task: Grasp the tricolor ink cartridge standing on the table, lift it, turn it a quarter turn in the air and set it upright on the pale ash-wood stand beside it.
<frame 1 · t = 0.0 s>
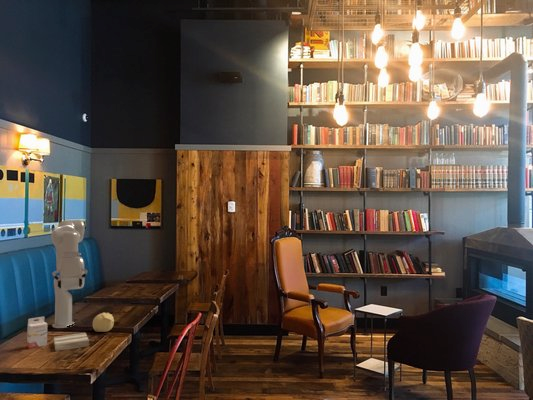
hand: (70, 287, 224), 31 cm above the table, tool pointing down, fingers open, 9 cm apart
stand: (71, 344, 226), on the table
ink cartridge box: (37, 346, 224), on the table
sculpture: (103, 331, 251), on the table
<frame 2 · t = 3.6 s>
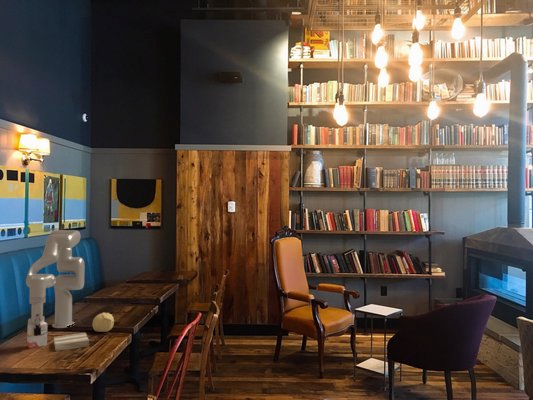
hand: (37, 333, 224), 7 cm above the table, tool pointing down, fingers closed on ink cartridge box, 5 cm apart
ink cartridge box: (37, 346, 224), on the table, touching gripper
everything else where it was.
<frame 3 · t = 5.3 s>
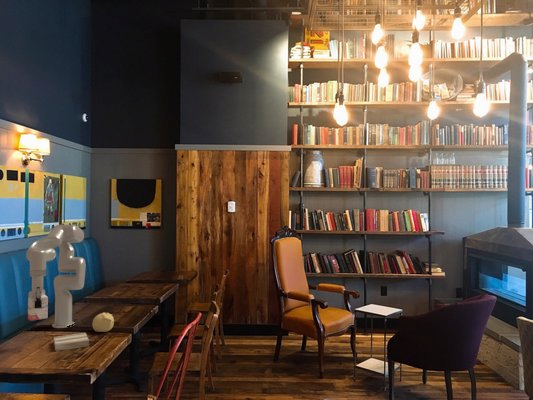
hand: (38, 306, 225), 21 cm above the table, tool pointing down, fingers closed on ink cartridge box, 5 cm apart
ink cartridge box: (38, 319, 225), point 14 cm above the table, touching gripper
everything else where it was.
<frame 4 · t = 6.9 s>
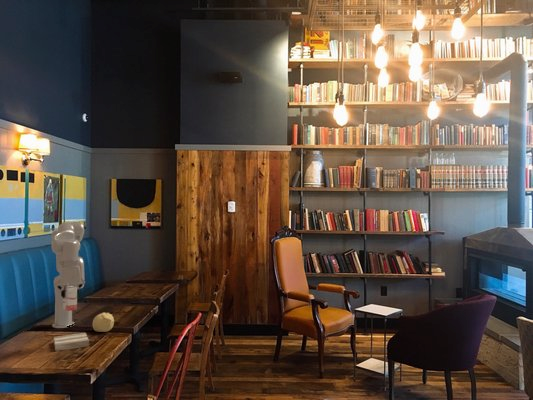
hand: (70, 296, 227), 25 cm above the table, tool pointing down, fingers closed on ink cartridge box, 5 cm apart
ink cartridge box: (69, 309, 227), point 19 cm above the table, touching gripper
everything else where it was.
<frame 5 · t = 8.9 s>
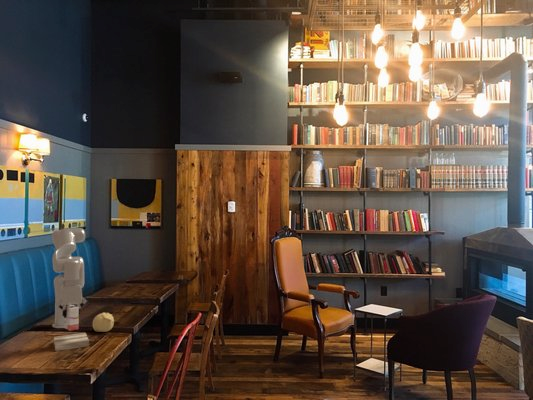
hand: (71, 316, 227), 15 cm above the table, tool pointing down, fingers closed on ink cartridge box, 5 cm apart
ink cartridge box: (71, 328, 226), point 8 cm above the table, touching gripper
everything else where it was.
when the fingers open (11 cm above the table, at t = 10.6 s): ink cartridge box drops 1 cm, resting on stand.
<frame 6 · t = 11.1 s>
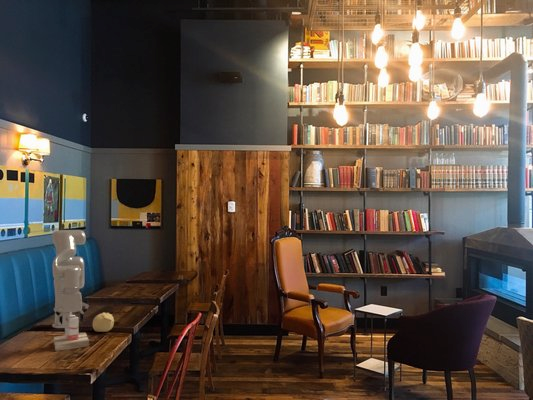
hand: (71, 322, 227), 12 cm above the table, tool pointing down, fingers open, 9 cm apart
ink cartridge box: (71, 338, 227), point 3 cm above the table, touching stand
everything else where it was.
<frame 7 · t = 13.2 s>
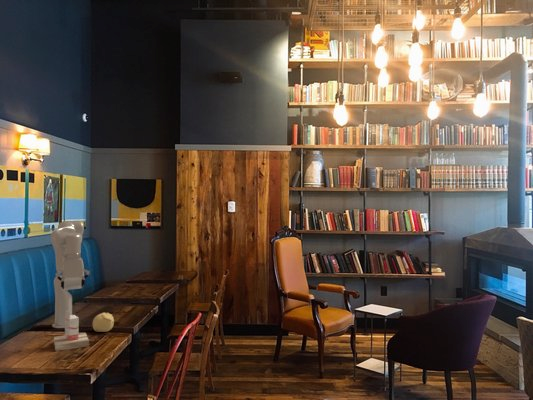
hand: (72, 287, 231), 30 cm above the table, tool pointing down, fingers open, 9 cm apart
nothing on the table moved.
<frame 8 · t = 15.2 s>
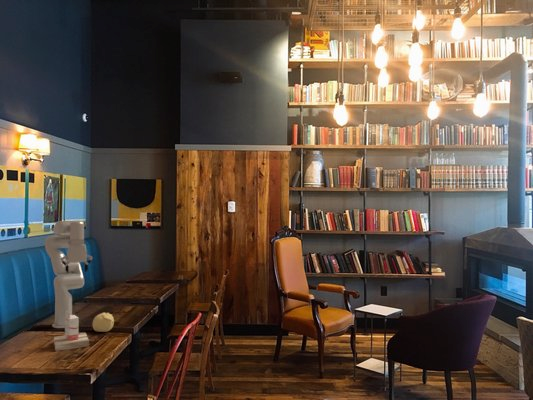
hand: (76, 272, 244), 36 cm above the table, tool pointing down, fingers open, 9 cm apart
nothing on the table moved.
at the end: ink cartridge box inside the target area on the stand (0.4 cm from its centre), point 2.8 cm above the stand's base; ink cartridge box tilted 0°; the gripper is holding nothing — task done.
